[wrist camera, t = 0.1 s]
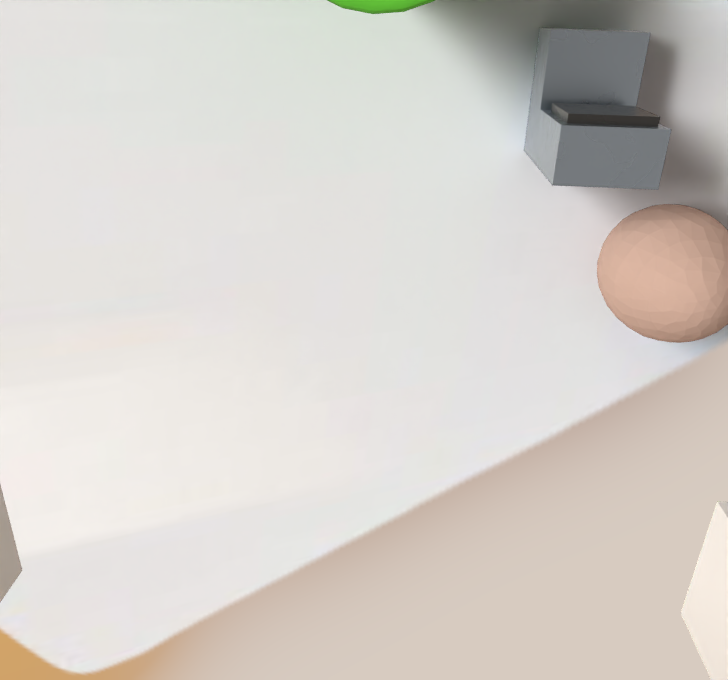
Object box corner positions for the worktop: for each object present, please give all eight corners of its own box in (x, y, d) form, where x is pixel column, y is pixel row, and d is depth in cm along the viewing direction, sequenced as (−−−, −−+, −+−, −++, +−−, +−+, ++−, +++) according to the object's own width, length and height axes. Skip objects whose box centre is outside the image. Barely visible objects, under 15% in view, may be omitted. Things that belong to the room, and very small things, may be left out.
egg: (565, 287, 40) (606, 359, 31) (605, 176, 37) (662, 224, 29) (674, 310, 40) (743, 388, 32) (722, 201, 37) (812, 256, 29)
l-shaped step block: (539, 27, 34) (575, 33, 27) (630, 30, 34) (692, 36, 26) (523, 150, 36) (552, 185, 29) (608, 153, 36) (657, 189, 29)
